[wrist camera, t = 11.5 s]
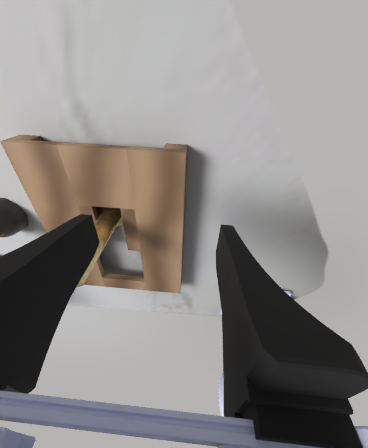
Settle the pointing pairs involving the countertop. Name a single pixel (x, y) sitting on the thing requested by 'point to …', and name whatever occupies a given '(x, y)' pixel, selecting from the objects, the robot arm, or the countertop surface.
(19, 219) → the wooden tabletop sculpture
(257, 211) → the countertop surface
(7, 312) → the robot arm
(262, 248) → the countertop surface
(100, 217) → the peg
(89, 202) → the keyhole plate
